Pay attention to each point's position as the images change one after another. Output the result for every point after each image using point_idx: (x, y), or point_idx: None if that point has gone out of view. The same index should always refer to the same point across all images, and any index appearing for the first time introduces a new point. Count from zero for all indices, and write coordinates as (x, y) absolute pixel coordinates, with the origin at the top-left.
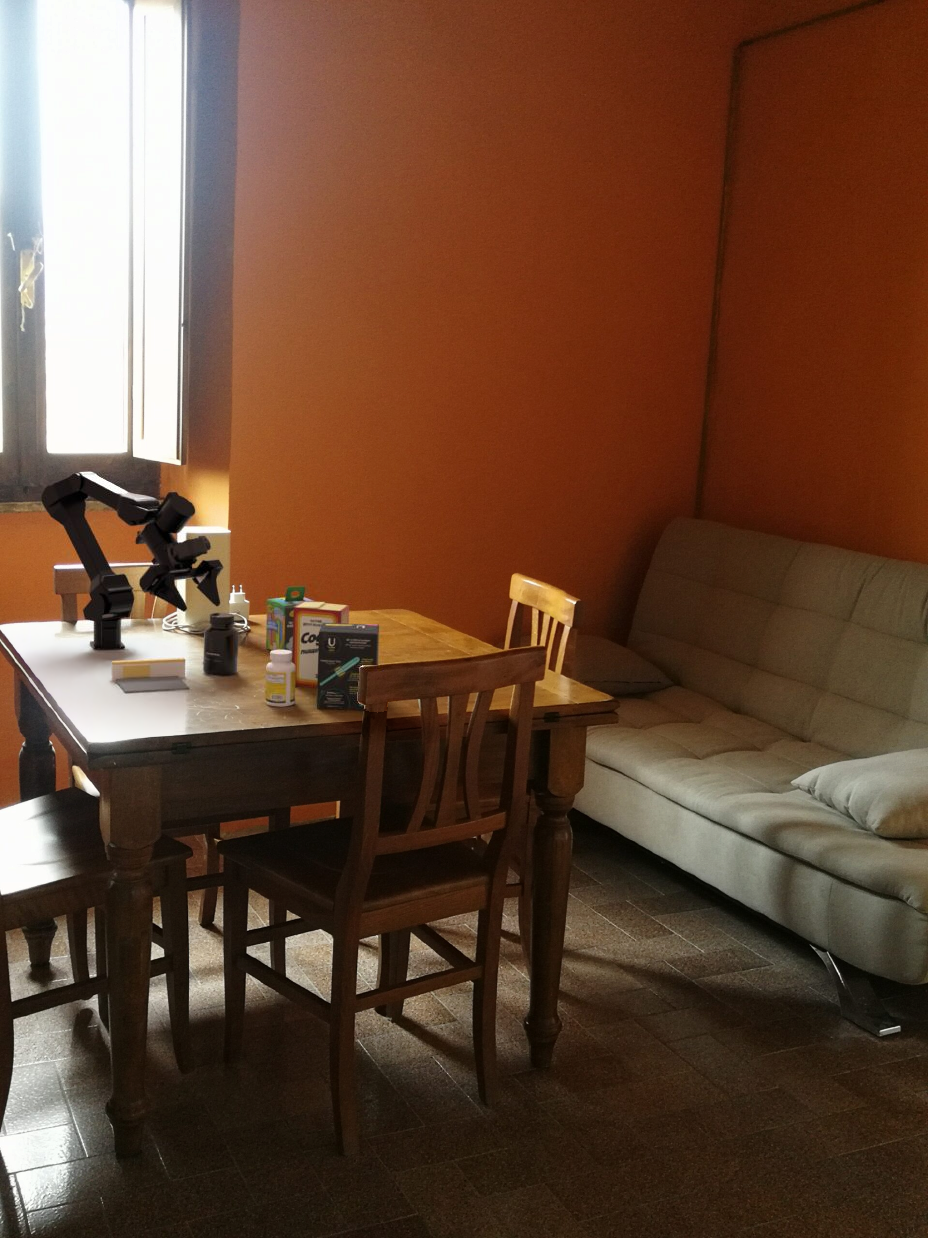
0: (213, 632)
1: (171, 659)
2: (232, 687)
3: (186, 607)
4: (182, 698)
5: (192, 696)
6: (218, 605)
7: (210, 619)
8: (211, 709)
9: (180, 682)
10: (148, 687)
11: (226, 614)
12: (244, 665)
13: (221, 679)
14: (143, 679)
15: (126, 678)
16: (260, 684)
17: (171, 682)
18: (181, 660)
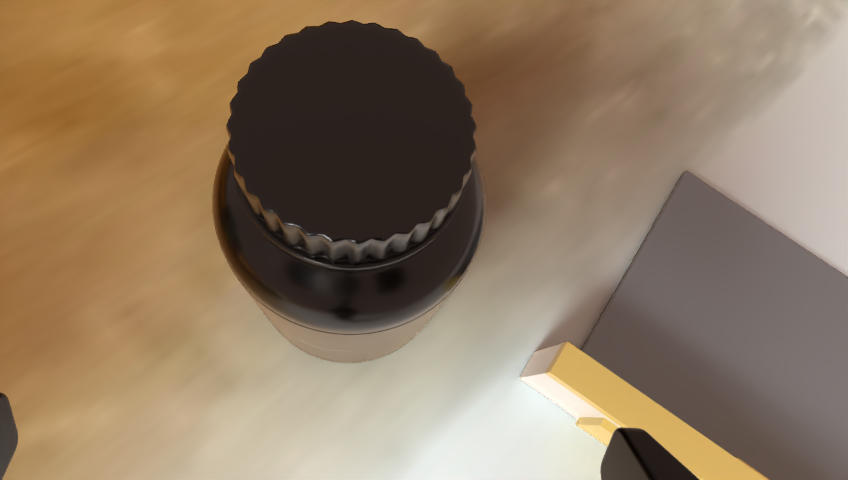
0: (478, 170)
1: (632, 397)
2: (527, 66)
3: (636, 430)
4: (788, 108)
5: (741, 98)
6: (3, 416)
7: (455, 204)
8: None
9: (655, 262)
10: (815, 305)
11: (304, 107)
12: (113, 291)
13: None
14: (749, 437)
15: None
16: (405, 10)
17: (685, 293)
18: (584, 355)
